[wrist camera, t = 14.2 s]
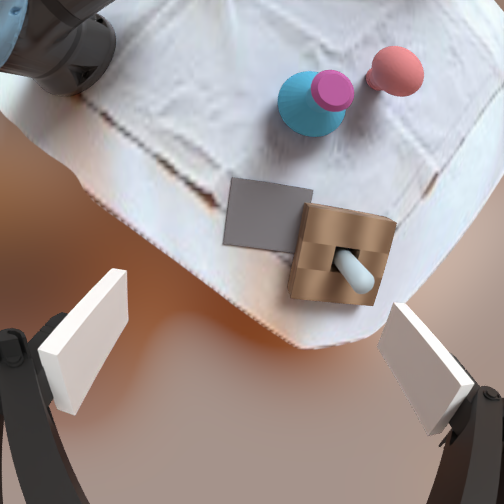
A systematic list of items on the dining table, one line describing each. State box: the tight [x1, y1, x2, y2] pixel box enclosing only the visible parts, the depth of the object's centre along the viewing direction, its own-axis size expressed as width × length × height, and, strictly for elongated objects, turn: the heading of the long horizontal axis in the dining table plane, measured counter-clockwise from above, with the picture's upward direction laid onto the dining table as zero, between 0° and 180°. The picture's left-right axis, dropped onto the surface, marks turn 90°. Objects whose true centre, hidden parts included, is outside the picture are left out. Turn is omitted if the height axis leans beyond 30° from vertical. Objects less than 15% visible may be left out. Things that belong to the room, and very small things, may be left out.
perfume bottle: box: [278, 70, 354, 137], centre depth 34 cm, size 9×9×15 cm
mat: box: [224, 177, 313, 253], centre depth 46 cm, size 12×10×1 cm
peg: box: [333, 246, 374, 294], centre depth 42 cm, size 3×3×12 cm
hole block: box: [287, 202, 397, 306], centre depth 46 cm, size 14×14×4 cm
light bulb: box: [366, 46, 424, 97], centre depth 34 cm, size 7×7×12 cm
